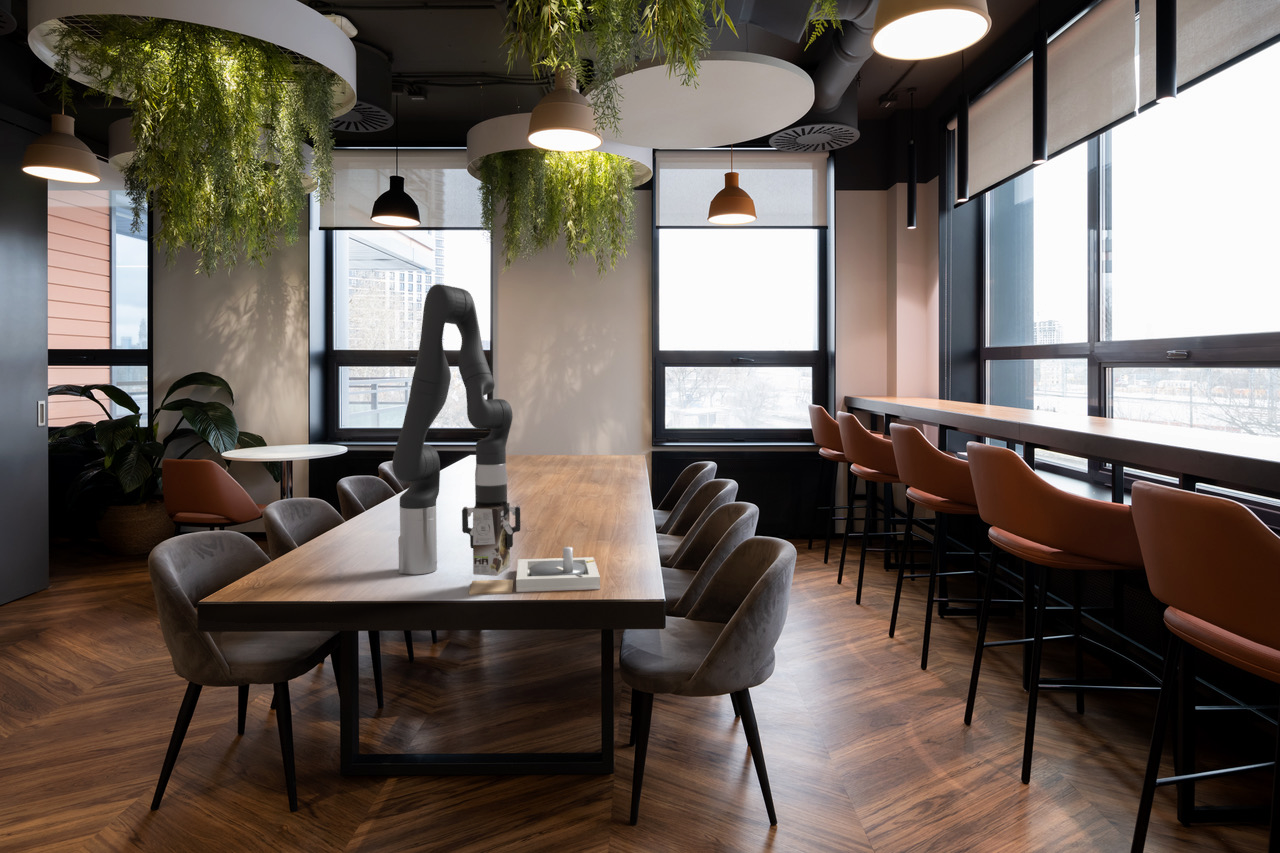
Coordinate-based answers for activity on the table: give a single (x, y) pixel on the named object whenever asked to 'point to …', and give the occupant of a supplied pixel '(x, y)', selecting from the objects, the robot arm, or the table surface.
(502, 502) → the robot arm
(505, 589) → the coaster
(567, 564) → the dial
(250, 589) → the table surface
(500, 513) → the coffee box
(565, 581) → the white square tray
